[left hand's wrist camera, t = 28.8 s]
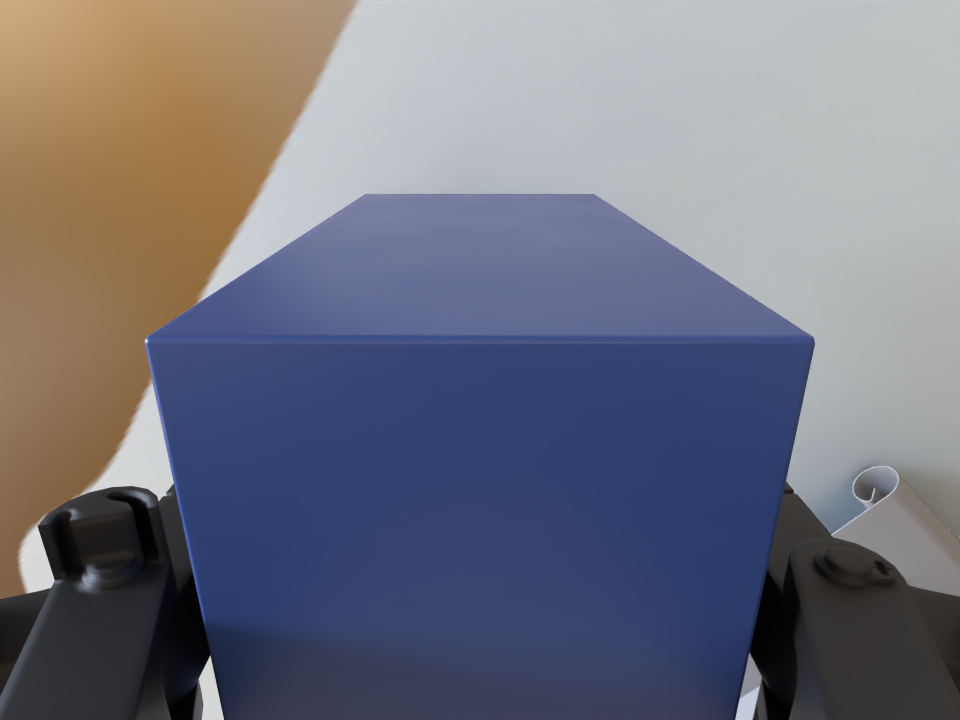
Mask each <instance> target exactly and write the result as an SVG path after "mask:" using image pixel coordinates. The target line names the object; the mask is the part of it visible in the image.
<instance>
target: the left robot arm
mask: <svg viewBox="0 0 960 720" xmlns="http://www.w3.org/2000/svg"><path fill="white" fill-rule="evenodd" d="M38 529H39V532H40V535H41V538H42V541H43V545H44V548H45V551H46V554H47V557H48V560H49V563H50V567H51V570H52V573H53V576H54V579H55V581H54V583H53V586H52V588H49V589H46V590H42V591H38V592H33V593H28V594H24V595H19V596H14V597H9V598H4V599H0V720H202V712H203V700H202V693H201V688H200V684H199V677H200V675H201V673H202V671H203V669H204V667H205V665H206V663H207V661H208V659H209V657H210V650H209V645H208V641H207V636H206V631H205V627H204V622H203V617H202V612H201V608H200V603H199V598H198V594H197V589H196V584H195V579H194V575H193V570H192V565H191V561H190V556H189V551H188V546H187V542H186V537H185V532H184V528H183V523H182V518H181V513H180V509H179V504H178V499H177V494H176V490H175V485H174V484H173V485H172V486H171V488H170V489H169V490H168V491H167V492H166V496H163V497H162V498H161V500H160V501H159V502H158V498H157V496H156V495H155V494H154V493H152V492H151V491H150V490H148V489H144V488H139V487H134V486H126V487H111V488H107V489H103V490H98V491H94V492H90V493H87V494H85V495H82V496H80V497H77V498H75V499H72V500H70V501H67V502H66V503H64V504H63V505H61V506H59V507H58V508H56V509H55V510H53V511H52V512H50V513H49V514H48V515H47V516H46V517H45V518H44V519H43V520H42V521H41V522H40V524H39V525H38ZM749 653H750V655H751V657H752V659H753V661H754V663H755V665H756V667H757V668H758V670H759V672H760V674H761V676H762V679H761V684H760V688H759V692H758V697H757V701H756V706H755V710H754V714H753V719H752V720H960V597H959V596H955V595H950V594H945V593H940V592H935V591H931V590H926V589H921V588H917V587H913V586H909V585H908V584H907V582H906V580H905V579H904V577H903V576H902V575H901V573H900V572H899V571H898V570H897V568H896V567H895V566H894V565H893V564H891V563H890V562H889V561H887V560H886V559H885V558H883V557H882V556H881V555H879V554H878V553H876V552H874V551H872V550H869V549H867V548H865V547H863V546H861V545H859V544H856V543H853V542H849V541H845V540H842V539H838V538H833V536H832V535H831V534H830V533H829V532H828V530H827V529H826V528H825V527H824V526H823V525H822V523H821V522H820V521H819V520H818V519H817V517H816V516H815V515H814V514H813V513H812V512H811V510H810V509H809V508H808V507H807V506H806V504H805V503H804V502H803V501H802V500H801V498H800V497H799V496H798V495H797V494H794V490H793V489H792V488H791V487H790V485H789V484H788V483H787V482H785V487H784V492H783V497H782V501H781V506H780V511H779V516H778V520H777V525H776V530H775V534H774V539H773V544H772V549H771V553H770V558H769V563H768V567H767V572H766V577H765V582H764V586H763V591H762V596H761V600H760V605H759V610H758V615H757V619H756V624H755V629H754V634H753V638H752V643H751V648H750V652H749Z"/></svg>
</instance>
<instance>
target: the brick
mask: <svg viewBox="0 0 960 720" xmlns="http://www.w3.org/2000/svg"><path fill="white" fill-rule="evenodd" d="M814 346H815V342H814V338H813V337H812V336H811V335H809V334H808V333H806V332H805V331H803V330H801V329H800V328H798V327H797V326H795V325H794V324H792V323H791V322H789V321H788V320H786V319H785V318H783V317H782V316H780V315H778V314H777V313H775V312H774V311H772V310H771V309H769V308H768V307H766V306H765V305H763V304H762V303H760V302H759V301H757V300H755V299H754V298H752V297H751V296H749V295H748V294H746V293H745V292H743V291H742V290H740V289H739V288H737V287H736V286H734V285H732V284H731V283H729V282H728V281H726V280H725V279H723V278H722V277H720V276H719V275H717V274H716V273H714V272H713V271H711V270H709V269H708V268H706V267H705V266H703V265H702V264H700V263H699V262H697V261H696V260H694V259H693V258H691V257H690V256H688V255H686V254H685V253H683V252H682V251H680V250H679V249H677V248H676V247H674V246H673V245H671V244H670V243H668V242H666V241H665V240H663V239H662V238H660V237H659V236H657V235H656V234H654V233H653V232H651V231H650V230H648V229H647V228H645V227H643V226H642V225H640V224H639V223H637V222H636V221H634V220H633V219H631V218H630V217H628V216H627V215H625V214H624V213H622V212H620V211H619V210H617V209H616V208H614V207H613V206H611V205H610V204H608V203H607V202H605V201H604V200H602V199H601V198H599V197H597V196H596V195H594V194H365V195H363V196H362V197H360V198H359V199H357V200H356V201H354V202H353V203H351V204H350V205H348V206H346V207H345V208H343V209H342V210H340V211H339V212H337V213H336V214H334V215H333V216H331V217H330V218H328V219H327V220H325V221H324V222H322V223H320V224H319V225H317V226H316V227H314V228H313V229H311V230H310V231H308V232H307V233H305V234H304V235H302V236H301V237H299V238H297V239H296V240H294V241H293V242H291V243H290V244H288V245H287V246H285V247H284V248H282V249H281V250H279V251H278V252H276V253H274V254H273V255H271V256H270V257H268V258H267V259H265V260H264V261H262V262H261V263H259V264H258V265H256V266H255V267H253V268H252V269H250V270H248V271H247V272H245V273H244V274H242V275H241V276H239V277H238V278H236V279H235V280H233V281H232V282H230V283H229V284H227V285H225V286H224V287H222V288H221V289H219V290H218V291H216V292H215V293H213V294H212V295H210V296H209V297H207V298H206V299H204V300H202V301H201V302H199V303H198V304H196V305H195V306H193V307H192V308H190V309H189V310H187V311H186V312H184V313H183V314H181V315H180V316H178V317H176V318H175V319H173V320H172V321H170V322H169V323H167V324H166V325H164V326H163V327H161V328H160V329H158V330H157V331H155V332H153V333H152V334H150V335H149V336H147V337H146V339H145V348H146V353H147V358H148V362H149V367H150V372H151V377H152V381H153V386H154V391H155V395H156V400H157V405H158V410H159V414H160V419H161V424H162V428H163V433H164V438H165V443H166V447H167V452H168V457H169V461H170V466H171V471H172V476H173V480H174V485H175V490H176V494H177V499H178V504H179V509H180V513H181V518H182V523H183V528H184V532H185V537H186V542H187V546H188V551H189V556H190V561H191V565H192V570H193V575H194V579H195V584H196V589H197V594H198V598H199V603H200V608H201V612H202V617H203V622H204V627H205V631H206V636H207V641H208V645H209V650H210V655H211V660H212V664H213V669H214V674H215V678H216V683H217V688H218V693H219V697H220V702H221V707H222V711H223V716H224V720H735V718H736V714H737V709H738V704H739V700H740V695H741V690H742V685H743V681H744V676H745V671H746V667H747V662H748V657H749V652H750V648H751V643H752V638H753V634H754V629H755V624H756V619H757V615H758V610H759V605H760V600H761V596H762V591H763V586H764V582H765V577H766V572H767V567H768V563H769V558H770V553H771V549H772V544H773V539H774V534H775V530H776V525H777V520H778V516H779V511H780V506H781V501H782V497H783V492H784V487H785V482H786V478H787V473H788V468H789V464H790V459H791V454H792V449H793V445H794V440H795V435H796V431H797V426H798V421H799V416H800V412H801V407H802V402H803V398H804V393H805V388H806V383H807V379H808V374H809V369H810V364H811V360H812V355H813V350H814Z"/></svg>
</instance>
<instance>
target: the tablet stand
mask: <svg viewBox="0 0 960 720" xmlns="http://www.w3.org/2000/svg"><path fill="white" fill-rule="evenodd" d="M852 491H853V494H854V496H855V497H856V498H857V499H858V500H859V501H860V502H861V503H862V504H863V505H864V506H865V507H866V508H867V510H866V511H864V512H863V513H861V514H860V515H859V516H857V517H856V518H854V519H853V520H851V521H850V522H849V523H847V524H846V525H844V526H843V527H841V528H840V529H839V530H837V531H836V532H834V533H833V534H831V535H832V536H833V538H838V539H842V540H845V541H849V542H853V543H856V544H859V545H861V546H863V547H865V548H867V549H869V550H872V551H874V552H876V553H878V554H879V555H881V556H882V557H883V558H885V559H886V560H887V561H889V562H890V563H891V564H893V565H894V566H895V567H896V568H897V570H898V571H899V572H900V573H901V575H902V576H903V577H904V579H905V580H906V582H907V584H908V585H909V586H913V587H917V588H921V589H926V590H931V591H935V592H940V593H945V594H950V595H955V596H959V597H960V542H959V540H958V539H957V538H956V537H955V536H954V535H953V534H952V533H951V532H950V531H949V529H948V528H947V527H946V526H945V525H944V524H943V523H942V522H941V521H940V519H939V518H938V517H937V516H936V515H935V514H934V513H933V512H932V511H931V509H930V508H929V507H928V506H927V505H926V504H925V503H924V502H923V501H922V500H921V498H920V497H919V496H918V495H917V494H916V493H915V492H914V491H913V490H912V488H911V487H910V486H909V485H908V484H907V483H906V482H905V481H904V480H903V478H902V477H901V476H900V475H899V474H898V473H897V472H896V471H895V470H894V469H893V468H891V467H888V466H875V467H871V468H869V469H867V470H865V471H863V472H862V473H861V474H859V475H858V477H857V478H856V479H855V481H854V483H853V486H852ZM761 679H762V676H761V674H760V672H759V670H758V668H757V667H756V665H755V663H754V661H753V659H752V657H751V655H750V653H749V657H748V662H747V667H746V671H745V676H744V681H743V685H742V690H741V695H740V700H739V704H738V709H737V714H736V718H735V720H752V719H753V714H754V710H755V706H756V701H757V697H758V692H759V688H760V684H761Z"/></svg>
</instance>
